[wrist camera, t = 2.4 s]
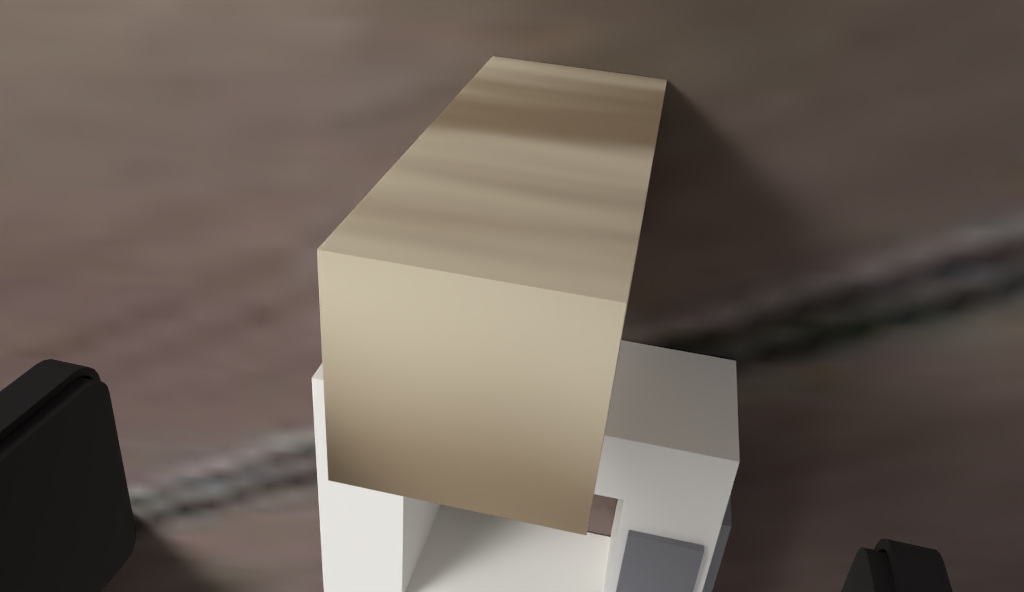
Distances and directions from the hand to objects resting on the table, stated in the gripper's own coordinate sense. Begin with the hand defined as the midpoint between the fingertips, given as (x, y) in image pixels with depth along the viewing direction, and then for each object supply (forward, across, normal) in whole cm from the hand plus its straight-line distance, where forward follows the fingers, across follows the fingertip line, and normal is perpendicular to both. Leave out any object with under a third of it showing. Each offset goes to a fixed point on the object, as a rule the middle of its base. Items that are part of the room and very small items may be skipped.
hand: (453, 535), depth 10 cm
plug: (+12, +1, -1) cm, 12 cm away
